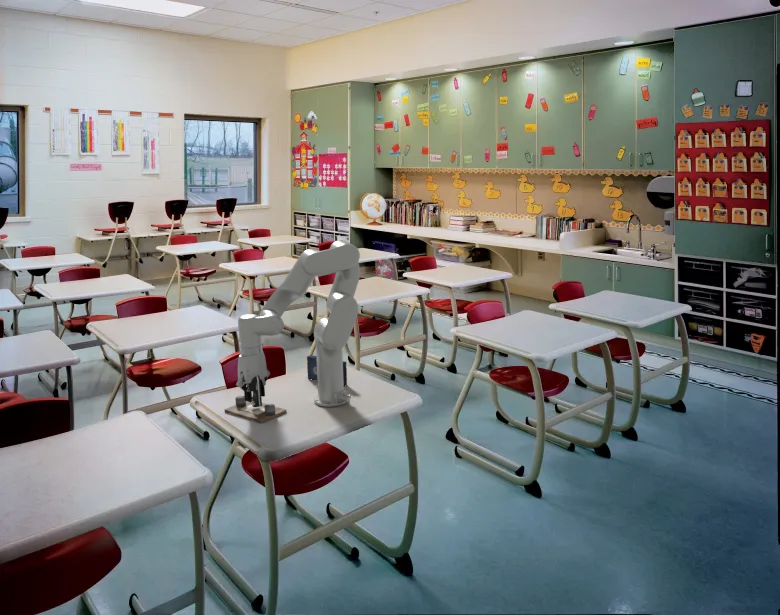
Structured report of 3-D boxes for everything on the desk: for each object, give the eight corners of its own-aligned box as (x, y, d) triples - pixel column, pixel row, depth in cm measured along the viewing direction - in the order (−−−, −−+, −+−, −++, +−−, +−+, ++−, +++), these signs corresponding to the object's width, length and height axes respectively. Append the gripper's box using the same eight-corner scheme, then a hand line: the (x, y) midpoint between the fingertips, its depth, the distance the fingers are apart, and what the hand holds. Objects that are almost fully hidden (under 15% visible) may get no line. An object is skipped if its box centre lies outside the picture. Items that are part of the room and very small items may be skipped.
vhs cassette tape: (347, 385, 255) (346, 361, 253) (343, 387, 253) (342, 363, 250) (312, 377, 265) (311, 354, 263) (307, 379, 262) (306, 356, 260)
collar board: (286, 412, 229) (285, 401, 228) (261, 423, 219) (261, 412, 218) (249, 401, 239) (249, 391, 238) (224, 412, 230) (223, 401, 229)
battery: (247, 402, 231) (245, 372, 228) (258, 400, 232) (255, 370, 230) (251, 409, 224) (249, 378, 222) (262, 407, 226) (260, 376, 223)
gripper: (261, 342, 233) (265, 389, 237) (225, 354, 219) (229, 404, 223) (276, 345, 229) (279, 393, 233) (239, 357, 215) (244, 408, 219)
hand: (255, 398), depth 228 cm, fingers closed on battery, 5 cm apart
